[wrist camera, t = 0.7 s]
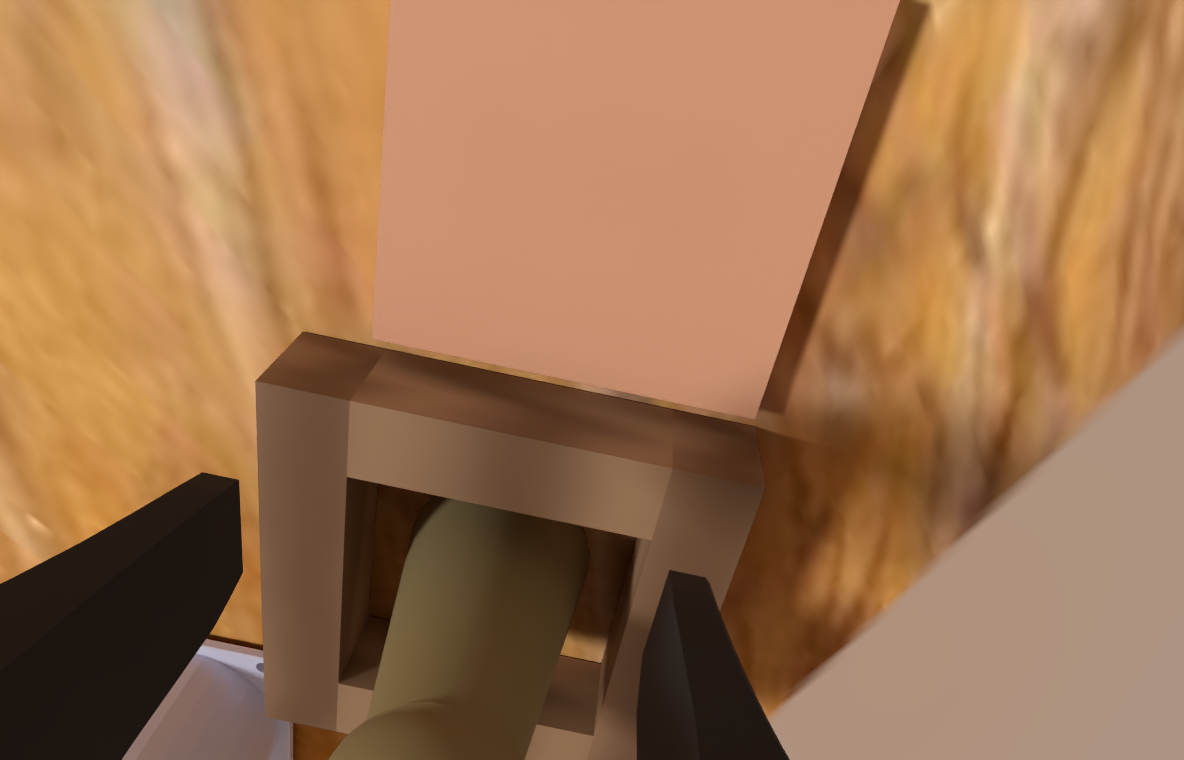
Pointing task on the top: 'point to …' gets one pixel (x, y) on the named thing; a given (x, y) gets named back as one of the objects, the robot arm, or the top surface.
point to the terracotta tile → (614, 182)
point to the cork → (472, 635)
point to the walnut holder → (486, 477)
